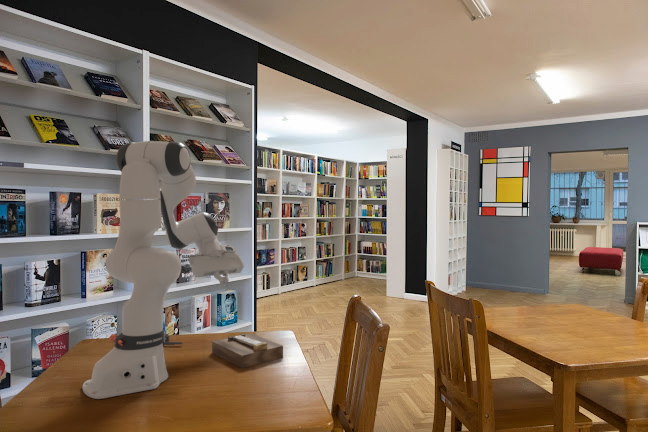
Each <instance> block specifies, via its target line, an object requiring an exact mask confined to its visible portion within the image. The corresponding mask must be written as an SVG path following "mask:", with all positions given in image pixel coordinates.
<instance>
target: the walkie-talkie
mask: <svg viewBox="0 0 648 432" xmlns="http://www.w3.org/2000/svg"><path fill="white" fill-rule="evenodd" d="M164 335H165V342H164V346H168V345H169V346H174V345H183V342H182V341H170V335H169V334H168V333H164Z"/></svg>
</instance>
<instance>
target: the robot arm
mask: <svg viewBox="0 0 648 432" xmlns="http://www.w3.org/2000/svg"><path fill="white" fill-rule="evenodd" d="M115 157H116V165H117V167H118V169H119V170H120V172H121V174H120V181H119V230H118V236H117V240H116V243H115V245H114V247H113V249H112V251H110V253H109V254H108V255H107V258H106V260H105V268H106V271H107V273H108V275H109V276H110V277H112V278H114V279H116V280H118V281H119V282H123V283H127V284H133V289H132V292H131V293H132V294H131V296H130V298H129V300H127V301H125V302H124V304H123V306H122V310H121V311H122V312H121V332H120V333H119V334H118V335H117V334H116V333H112V334H110V336H109V340H110V341H111V342H112V343H114V347H113V348H112V349H111V350H110V351H108V352H107V353H106V354H105V355H104V356H103V357H101V359H99V360H98V361H96V363H95V364H94V366H93V369H92V372H91V373H92V374H91V379H88V380H85V381H84V382H83V384H82V392H83V393H84V394H85V395H86V397H89V398H92V399H96V400H100V399H101V400H102V399H107V398H112V397H116V396H117V397H118V396H123V395H128V394H133V393H138V392H143V391H149V390H155V389H157V388H159V386H160V385H161V383H164V381H166V380H167V379H168V378H169V372H168V371H167V366H166V361H165V354H164V353H165V352H164V348H165V345H164V342H165V335H164V334H165V329H164V326H163V325H164V305H165V299H166V297H167V294H168V291H169V289H170V287H171V286H172V284H174V283H175V282H176V281H177V280H178V279H179V277H180V275H181V271H182V260H181V259H180V257H179V255H178V254H177V253H176V252H173V251H171V250H168V249H167V248H166V249H165V248H162V247H152V240H153V237H154V234H155V233H156V232H157V231H158V230H159V229H160V228H161V226H162V220H163V223H164V228H165V238H166V240H167V242H168V244H169V246H170V247H171V248H173V249H177V250H182V249H184V248H186V247H188V246H189V245H192V244H194V243H195V246H196V247H197V248H198V253H199V254H192V255H190V256H189V257H188V260H187V261H188V263H189V264H190V268H191V272H192V275H193V276H194V277H195V278H200V277H201V278H203V277H210V276H211V277H212V276H213V277H214V278H215V279H216V280H217V281H218V282H219V284H221V285H222V284H228V283H229V277H228V276H229V275H231V274H232V275H233V274H240V273H242V271H243V270H244V267H245V265H244V263H243V260H242V259H241V257H240V255H239V254H238V253H237V252H236V249H235V247H233V246H229V245H225V244H222V243H221V242H220V240H218V233H219V228H218V225H216V223H215V220H214V218H213V215H212V214H211V213H208V212H205V211H202V212H199V213H196V214H193V215H191V216H189V217H187V218H184V219H182V220H179V221H176V218H175V214H174V210H175V208H177V206H179V204H180V203H181V202H183V201H184V200H185V199H187V198H188V197H189V196H190V195H192V193H193V192H194V190H195V188H196V186H197V179H196V175H195V174H196V173H195V171H194V168H193V166H192V163H191V155H190V151H189V149H188V147H187V146H186V145H184V143H182V142H178V141H161V140H160V141H159V140H158V141H157V140H155V141H154V140H145V141H138V142H133V141H132V142H131V141H130V142H127V143H124V144H122V145H121V146H120V147H119V148H118V149H117V152H116V155H115ZM159 178H160V181H161V184H162V187H160V181H159ZM160 189H161V190H160Z"/></svg>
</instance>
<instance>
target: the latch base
mask: <svg viewBox="0 0 648 432" xmlns="http://www.w3.org/2000/svg"><path fill="white" fill-rule="evenodd" d="M240 335H241V336H244V337H247V338H250V339H253V340H256V341H259V342H262V343H258V344H254V347H253V346H250V345H248V344H245V343H242V342H239V341H236V340H233V337H234V336H232V335H231V336H228V337H227V338H221V339H217V340H212V342H211V347H212V348H211V353H212V354H214V355H216V356H218V357H219V358H222V359H224V360H225V361H227V362H228V363H229V362H230V363H231V364H233V365H235V366H237V367H238V368H241V369H245V368H248V367H252V366H257V365H259V364H263V363H267V362H271V361H274V360H279V359H282V358H284V345H282V344H280V343H276V342H275V341H272V340H269V339H267V338H265V337H261V336H260V335H256V334H254V333H252V332H251V333H247V334H245V333H240Z"/></svg>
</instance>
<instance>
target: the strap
mask: <svg viewBox="0 0 648 432" xmlns="http://www.w3.org/2000/svg"><path fill="white" fill-rule="evenodd" d="M232 337H233V340H236V341H239V342H242V343H245V344H248V345H250V346H253V347H254V344H258V343H262V342H259V341H256V340H253V339H250V338H247V337H244V336H241V335H235V336H232Z"/></svg>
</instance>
